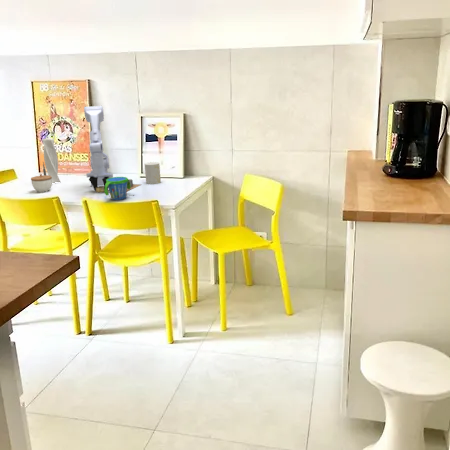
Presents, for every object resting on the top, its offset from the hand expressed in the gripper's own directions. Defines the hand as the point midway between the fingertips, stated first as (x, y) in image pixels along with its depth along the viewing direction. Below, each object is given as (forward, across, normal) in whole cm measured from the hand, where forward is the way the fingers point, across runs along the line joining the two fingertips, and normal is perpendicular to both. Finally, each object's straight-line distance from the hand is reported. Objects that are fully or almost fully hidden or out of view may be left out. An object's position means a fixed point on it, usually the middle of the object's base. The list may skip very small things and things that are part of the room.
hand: (101, 190), depth 258 cm
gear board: (+1, +8, +10) cm, 13 cm away
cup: (+2, +19, +24) cm, 31 cm away
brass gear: (+1, 0, 0) cm, 1 cm away
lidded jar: (+2, -37, +1) cm, 37 cm away
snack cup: (+2, +15, -9) cm, 18 cm away
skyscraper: (+2, -45, +22) cm, 50 cm away
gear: (0, +9, +12) cm, 15 cm away
